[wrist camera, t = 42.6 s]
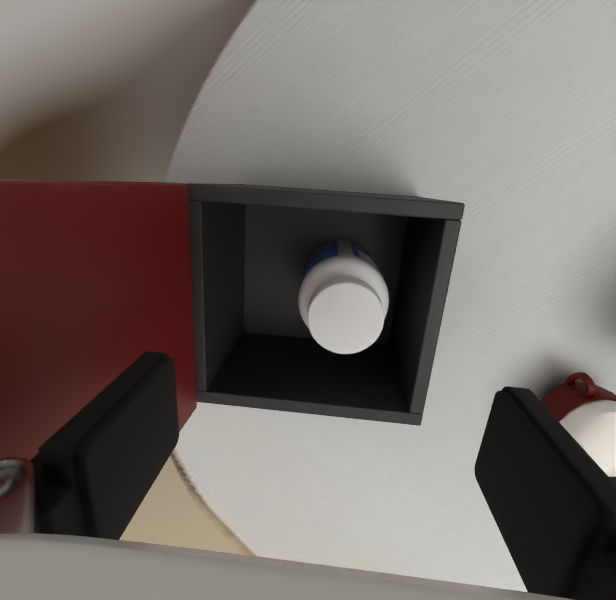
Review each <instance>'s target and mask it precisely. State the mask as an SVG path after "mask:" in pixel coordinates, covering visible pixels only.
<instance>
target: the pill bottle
mask: <svg viewBox="0 0 616 600" xmlns="http://www.w3.org/2000/svg"><path fill="white" fill-rule="evenodd" d="M298 305H299V310H300V314H301V317H302V319H303V321H304V323H305V324H306V326H307V327H308V328H309V330H310V333H311V335H312V336H313V338H314V339H315V340H316V342H317V343H318V344H319V345H321V346H322V347H323V348H325V349H327V350H329V351H331V352H334V353H339V354H352V353H357V352H360V351H362V350H364V349H366V348H367V347H369V346H371V345H372V344H373V343H374V342H375V341H376V339H377V338H378V337H379V335H380V333H381V331H382V328H383V325H384V319H385V317H386V314H387V311H388V306H389V294H388V289H387V286H386V283H385V281H384V279H383V277H382V275H381V273H380V271H379V269H378V268H377V266H376V264H375V262H374V260H373V259H372V257H371V256H370V254H369V253H368V252H367V251H366V250H365V249H364V248H362V247H361V246H359V245H358V244H355V243H353V242H350V241H343V240H339V241H333V242H329V243H327V244H325V245H323V246H321V247H320V248H319V249H317V250H316V251H315V252H314V254H313V255H312V256H311V258H310V259H309V261H308V264H307V266H306V270H305V273H304V276H303V279H302V283H301V286H300V290H299V296H298Z"/></svg>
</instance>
